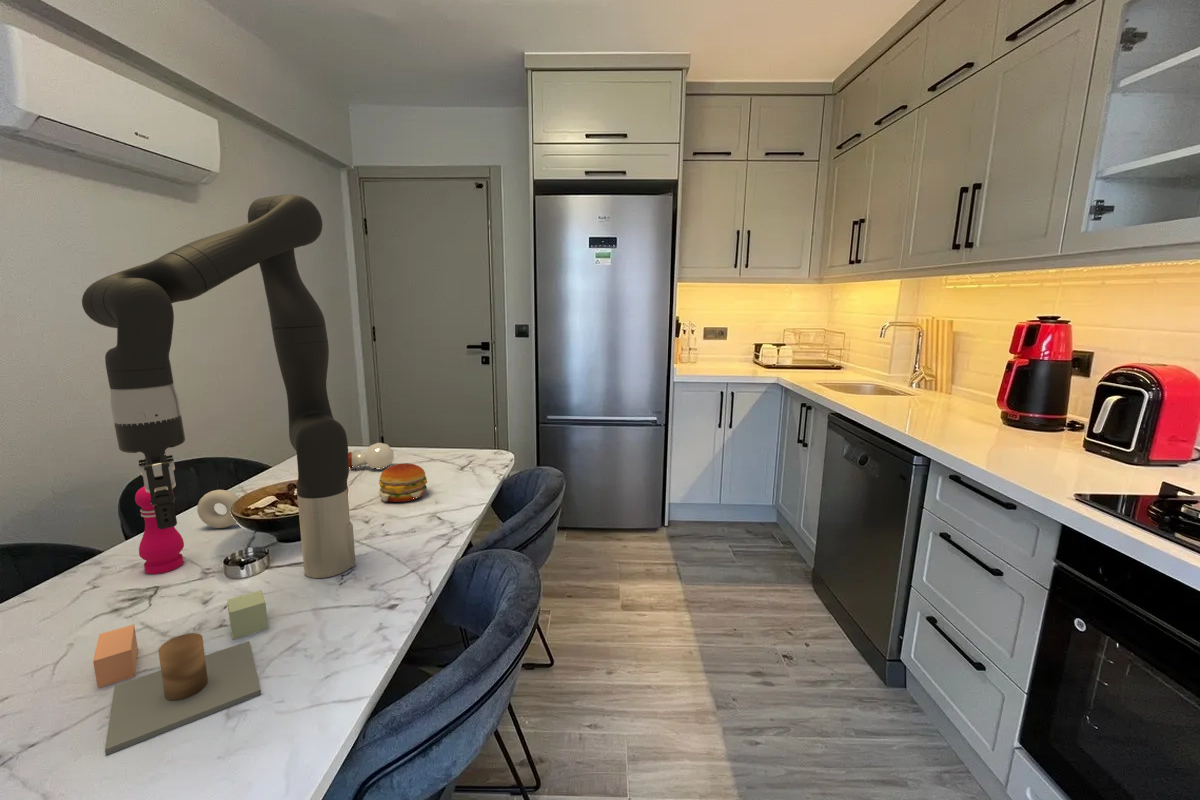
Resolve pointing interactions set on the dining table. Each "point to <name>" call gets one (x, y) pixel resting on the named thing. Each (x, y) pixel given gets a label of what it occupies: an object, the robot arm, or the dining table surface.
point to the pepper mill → (157, 540)
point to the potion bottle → (372, 457)
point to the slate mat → (151, 714)
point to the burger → (402, 482)
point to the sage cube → (247, 614)
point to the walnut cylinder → (183, 666)
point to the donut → (208, 511)
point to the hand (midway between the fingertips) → (166, 518)
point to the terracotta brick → (115, 656)
